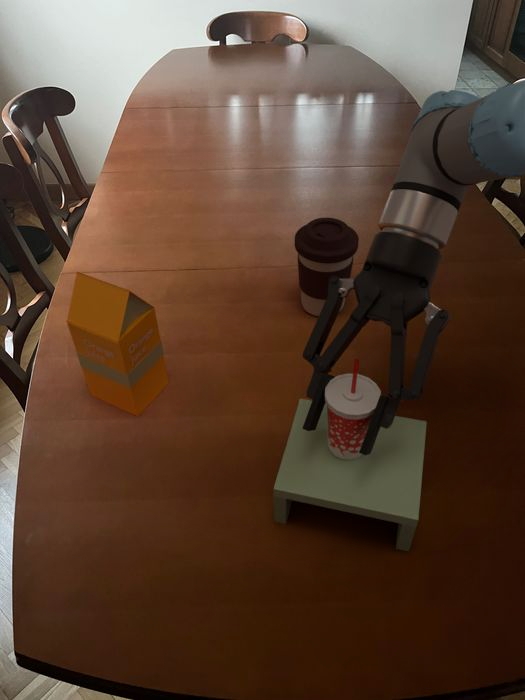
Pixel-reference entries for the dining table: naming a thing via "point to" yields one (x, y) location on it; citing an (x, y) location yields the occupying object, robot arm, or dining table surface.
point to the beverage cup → (349, 412)
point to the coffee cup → (323, 259)
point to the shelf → (355, 474)
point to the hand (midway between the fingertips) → (336, 440)
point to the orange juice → (117, 344)
